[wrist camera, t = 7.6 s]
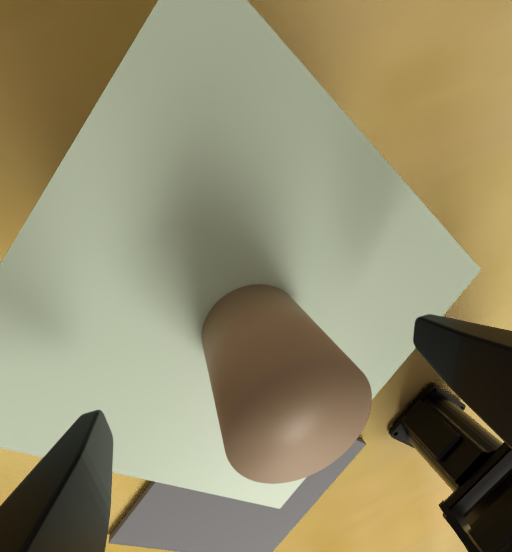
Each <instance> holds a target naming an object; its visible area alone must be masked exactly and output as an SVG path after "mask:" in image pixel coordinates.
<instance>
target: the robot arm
mask: <svg viewBox="0 0 512 552" xmlns="http://www.w3.org/2000/svg"><path fill="white" fill-rule="evenodd" d="M413 343H414V345H415V347H416V348H417V350H418V351H419V352H420V353H421V354H422V356H423V357H424V358H425V359H426V360H427V361H428V363H429V364H430V365H431V366H432V367H433V368H434V370H435V371H436V372H437V373H438V374H439V375H440V377H441V378H442V379H443V380H444V381H445V382H446V383H447V385H448V386H449V387H450V388H451V389H452V390H453V391H454V392H455V393H456V394H457V395H458V396H459V397H460V398H461V399H462V400H463V401H464V402H465V403H466V404H467V405H468V406H469V407H470V408H471V409H472V410H473V411H474V412H475V413H476V414H477V415H478V416H479V417H480V418H481V419H482V420H483V421H484V422H485V423H486V424H487V425H488V426H489V427H490V428H491V429H492V430H493V431H494V432H495V433H496V434H497V435H498V436H499V437H500V438H501V439H502V440H503V441H504V443H502V442H500V441H499V440H498V439H497V438H496V437H494V436H493V435H492V434H491V433H490V432H488V431H487V430H486V429H485V428H483V427H482V426H481V425H480V424H479V423H477V422H476V421H475V420H474V419H473V418H471V417H470V416H469V415H468V414H466V413H465V412H464V411H463V410H464V409H465V405H464V404H463V403H462V402H460V401H459V400H457V399H456V398H455V397H453V396H452V395H450V394H449V393H447V392H446V391H444V390H443V389H441V388H440V387H439V386H437V385H436V384H434V383H431V384H429V385H428V386H427V388H426V389H425V390H424V391H423V392H422V393H421V394H420V396H419V397H418V398H417V399H416V400H415V401H414V402H413V404H412V405H411V406H410V407H409V408H408V409H407V410H406V412H405V413H404V414H403V415H402V416H401V417H400V418H399V419H398V421H397V422H396V423H395V424H394V425H393V426H392V427H391V429H390V430H389V434H390V435H391V437H392V438H394V439H396V440H398V441H401V442H403V443H405V444H407V445H409V446H411V447H413V448H415V449H416V450H417V451H418V452H419V453H420V454H421V455H422V457H423V458H424V459H425V460H426V461H427V462H428V463H429V464H430V466H431V467H432V468H433V469H434V470H435V471H436V472H437V474H438V475H439V476H440V477H441V478H442V479H443V480H444V481H445V483H446V484H447V485H448V486H449V487H450V488H451V489H452V491H453V493H452V494H451V495H450V496H449V497H448V498H447V499H446V500H445V501H442V502H441V503H440V504H439V507H440V508H441V510H442V511H443V517H444V518H445V519H446V521H447V522H448V523H449V524H450V526H451V527H452V528H453V529H454V531H455V532H456V534H457V535H458V537H459V538H460V540H461V541H462V542H463V544H464V545H465V547H466V549H467V551H468V552H512V331H509V330H504V329H500V328H495V327H490V326H485V325H480V324H476V323H471V322H466V321H461V320H456V319H452V318H447V317H442V316H437V315H432V314H427V315H423V316H420V317H418V318H416V320H415V325H414V334H413ZM112 464H113V435H112V432H111V430H110V427H109V425H108V423H107V420H106V418H105V415H104V413H103V412H102V411H101V410H95V411H91V412H88V413H84V414H82V415H81V416H80V417H79V418H78V419H77V420H76V421H75V422H74V423H73V424H72V426H71V427H70V428H69V429H68V430H67V431H66V432H65V434H64V435H63V436H62V437H61V438H60V439H59V440H58V441H57V443H56V444H55V445H54V446H53V447H52V448H51V449H50V450H49V452H48V453H47V454H46V455H45V456H44V457H43V458H42V459H41V461H40V462H39V463H38V464H37V465H36V466H35V467H34V468H33V470H32V471H31V472H30V473H29V474H28V475H27V476H26V478H25V479H24V480H23V481H22V482H21V483H20V484H19V485H18V487H17V488H16V489H15V490H14V491H13V492H12V493H11V494H10V496H9V497H8V498H7V499H6V500H5V501H4V502H3V503H2V505H1V506H0V552H105V546H106V539H107V532H108V525H109V517H110V507H111V487H112Z"/></svg>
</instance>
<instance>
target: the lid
mask: <svg viewBox="0 0 512 552" xmlns="http://www.w3.org/2000/svg"><path fill="white" fill-rule="evenodd" d="M480 271H481V269H480V268H479V267H478V266H477V264H476V263H475V262H474V261H473V260H472V259H471V257H470V256H469V255H468V254H467V253H466V252H465V251H464V249H463V248H462V247H461V246H460V245H459V244H458V242H457V241H456V240H455V239H454V238H453V237H452V236H451V234H450V233H449V232H448V231H447V230H446V229H445V227H444V226H443V225H442V224H441V223H440V222H439V221H438V219H437V218H436V217H435V216H434V215H433V214H432V213H431V211H430V210H429V209H428V208H427V207H426V206H425V204H424V203H423V202H422V201H421V200H420V199H419V198H418V196H417V195H416V194H415V193H414V192H413V191H412V189H411V188H410V187H409V186H408V185H407V184H406V183H405V181H404V180H403V179H402V178H401V177H400V176H399V174H398V173H397V172H396V171H395V170H394V169H393V168H392V166H391V165H390V164H389V163H388V162H387V161H386V160H385V158H384V157H383V156H382V155H381V154H380V153H379V151H378V150H377V149H376V148H375V147H374V146H373V145H372V143H371V142H370V141H369V140H368V139H367V138H366V136H365V135H364V134H363V133H362V132H361V131H360V130H359V128H358V127H357V126H356V125H355V124H354V123H353V121H352V120H351V119H350V118H349V117H348V116H347V115H346V113H345V112H344V111H343V110H342V109H341V108H340V106H339V105H338V104H337V103H336V102H335V101H334V100H333V98H332V97H331V96H330V95H329V94H328V93H327V92H326V90H325V89H324V88H323V87H322V86H321V85H320V83H319V82H318V81H317V80H316V79H315V78H314V77H313V75H312V74H311V73H310V72H309V71H308V70H307V68H306V67H305V66H304V65H303V64H302V63H301V62H300V60H299V59H298V58H297V57H296V56H295V55H294V53H293V52H292V51H291V50H290V49H289V48H288V47H287V45H286V44H285V43H284V42H283V41H282V40H281V39H280V37H279V36H278V35H277V34H276V33H275V32H274V30H273V29H272V28H271V27H270V26H269V25H268V24H267V22H266V21H265V20H264V19H263V18H262V17H261V15H260V14H259V13H258V12H257V11H256V10H255V9H254V7H253V6H252V5H251V4H250V3H249V2H248V0H158V1H157V3H156V5H155V6H154V8H153V10H152V11H151V13H150V15H149V16H148V18H147V20H146V21H145V23H144V25H143V26H142V28H141V30H140V31H139V33H138V35H137V37H136V38H135V40H134V42H133V43H132V45H131V47H130V48H129V50H128V52H127V53H126V55H125V57H124V58H123V60H122V62H121V63H120V65H119V67H118V68H117V70H116V72H115V73H114V75H113V77H112V78H111V80H110V82H109V83H108V85H107V87H106V88H105V90H104V92H103V93H102V95H101V97H100V98H99V100H98V102H97V103H96V105H95V107H94V108H93V110H92V112H91V113H90V115H89V117H88V118H87V120H86V122H85V123H84V125H83V127H82V128H81V130H80V132H79V133H78V135H77V137H76V138H75V140H74V142H73V143H72V145H71V147H70V148H69V150H68V152H67V153H66V155H65V157H64V158H63V160H62V162H61V163H60V165H59V167H58V168H57V170H56V172H55V173H54V175H53V177H52V178H51V180H50V182H49V183H48V185H47V187H46V189H45V190H44V192H43V194H42V195H41V197H40V199H39V200H38V202H37V204H36V205H35V207H34V209H33V210H32V212H31V214H30V215H29V217H28V219H27V220H26V222H25V224H24V225H23V227H22V229H21V230H20V232H19V234H18V235H17V237H16V239H15V240H14V242H13V244H12V245H11V247H10V249H9V250H8V252H7V254H6V255H5V257H4V259H3V260H2V262H1V264H0V448H3V449H7V450H12V451H16V452H21V453H26V454H30V455H35V456H39V457H44V456H45V455H46V454H47V453H48V452H49V450H50V449H51V448H52V447H53V446H54V445H55V444H56V443H57V441H58V440H59V439H60V438H61V437H62V436H63V435H64V434H65V432H66V431H67V430H68V429H69V428H70V427H71V426H72V424H73V423H74V422H75V421H76V420H77V419H78V418H79V417H80V416H81V415H82V414H84V413H88V412H91V411H95V410H101V411H102V412H103V413H104V415H105V418H106V420H107V423H108V425H109V427H110V430H111V432H112V435H113V464H112V472H113V473H117V474H122V475H127V476H131V477H136V478H140V479H145V480H150V481H154V482H159V483H163V484H168V485H173V486H177V487H182V488H186V489H191V490H196V491H200V492H205V493H209V494H214V495H218V496H223V497H228V498H232V499H237V500H241V501H246V502H251V503H255V504H260V505H264V506H269V507H274V508H278V509H280V508H281V507H282V506H283V505H284V503H285V502H286V501H287V500H288V499H289V497H290V496H291V495H292V494H293V493H294V492H295V490H296V489H297V488H298V487H299V486H300V484H301V483H302V482H303V481H304V480H305V478H306V477H308V476H310V475H312V474H314V473H317V472H318V471H320V470H322V469H324V468H325V467H327V466H328V465H330V464H332V463H333V462H334V461H335V460H337V459H338V458H339V457H340V456H342V455H343V454H344V453H345V452H346V451H347V450H348V449H349V448H350V447H351V446H352V444H353V443H354V442H355V441H356V439H357V438H358V437H359V435H360V433H361V432H362V430H363V428H364V426H365V425H366V422H367V420H368V417H369V414H370V410H371V405H372V399H373V398H374V397H375V396H376V394H377V393H378V392H379V391H380V390H381V388H382V387H383V386H384V385H385V384H386V383H387V381H388V380H389V379H390V378H391V377H392V375H393V374H394V373H395V372H396V371H397V369H398V368H399V367H400V366H401V365H402V364H403V362H404V361H405V360H406V359H407V358H408V356H409V355H410V354H411V353H412V352H413V351H414V349H415V348H416V347H415V345H414V343H413V334H414V325H415V320H416V318H418V317H420V316H423V315H427V314H432V315H437V316H443V315H444V314H445V313H446V311H447V310H448V309H449V308H450V307H451V305H452V304H453V303H454V302H455V301H456V300H457V298H458V297H459V296H460V295H461V294H462V292H463V291H464V290H465V289H466V288H467V287H468V285H469V284H470V283H471V282H472V281H473V279H474V278H475V277H476V276H477V275H478V273H479V272H480Z"/></svg>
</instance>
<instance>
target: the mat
mask: <svg viewBox="0 0 512 552" xmlns="http://www.w3.org/2000/svg"><path fill="white" fill-rule="evenodd" d="M365 445H366V443H365V442H364V440H363V439H360V438H357V439H356V441H355V442H354V443H353V444H352V446H351V447H350V448H349V449H348V450H347V451H346V452H345V453H344V454H343V455H342V456H340V457H339V458H338V459H337V460H335V461H334V462H333V463H332V464H330V465H328V466H327V467H325V468H324V469H322V470H320V471H318V472H317V473H314V474H312V475H310V476H308V477H306V478H305V480H304V481H303V482H302V483H301V484H300V486H299V487H298V488H297V489H296V490H295V492H294V493H293V494H292V495H291V496H290V497H289V499H288V500H287V501H286V502H285V503H284V505H283V506H282V507H281V508H280V509H278V508H274V507H269V506H264V505H260V504H255V503H251V502H246V501H241V500H237V499H232V498H228V497H223V496H218V495H214V494H209V493H205V492H200V491H196V490H191V489H186V488H182V487H177V486H173V485H168V484H163V483H159V482H154V481H151V483H150V484H149V485H148V487H147V488H146V489H145V490H144V492H143V493H142V494H141V496H140V497H139V498H138V500H137V501H136V502H135V503H134V505H133V506H132V507H131V509H130V510H129V511H128V513H127V514H126V515H125V516H124V518H123V519H122V520H121V522H120V523H119V524H118V526H117V527H116V528H115V529H114V531H113V532H112V533H111V535H110V537H109V543H111V544H120V545H128V546H137V547H145V548H154V549H162V550H171V551H179V552H273V551H274V549H275V548H276V547H277V546H278V545H279V544H280V543H281V541H282V540H283V539H284V538H285V537H286V536H287V535H288V533H289V532H290V531H291V530H292V529H293V528H294V527H295V525H296V524H297V523H298V522H299V521H300V520H301V518H302V517H303V516H304V515H305V514H306V513H307V512H308V510H309V509H310V508H311V507H312V506H313V505H314V504H315V502H316V501H317V500H318V499H319V498H320V497H321V496H322V494H323V493H324V492H325V491H326V490H327V489H328V487H329V486H330V485H331V484H332V483H333V482H334V481H335V479H336V478H337V477H338V476H339V475H340V474H341V473H342V471H343V470H344V469H345V468H346V467H347V466H348V465H349V463H350V462H351V461H352V460H353V459H354V458H355V456H356V455H357V454H358V453H359V452H360V451H361V450H362V448H363V447H364V446H365Z"/></svg>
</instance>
